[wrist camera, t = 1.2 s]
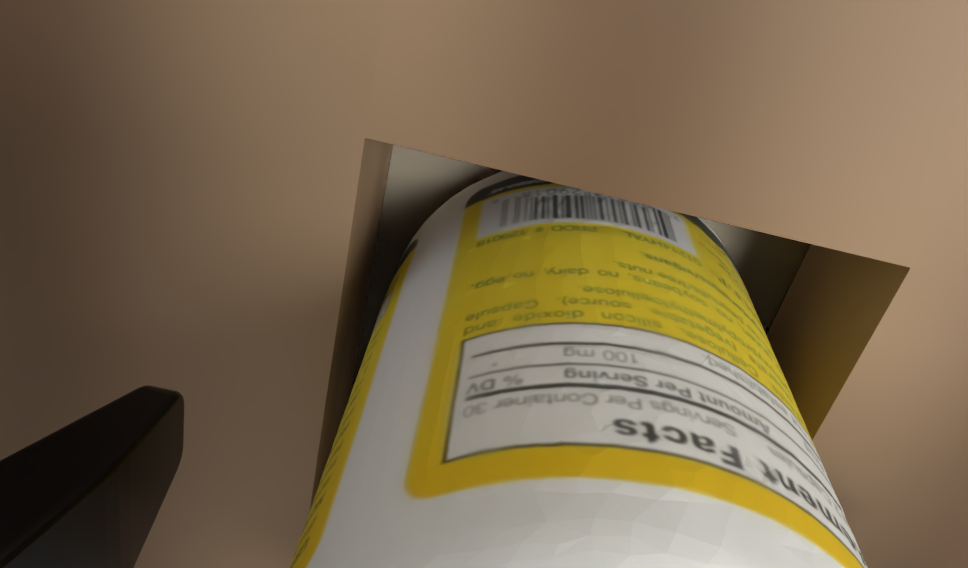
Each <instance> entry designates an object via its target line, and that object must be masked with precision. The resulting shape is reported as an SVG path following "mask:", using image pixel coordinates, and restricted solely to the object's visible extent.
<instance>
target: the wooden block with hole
mask: <svg viewBox="0 0 968 568" xmlns="http://www.w3.org/2000/svg"><path fill="white" fill-rule="evenodd" d="M393 145H397V146H401V147H406V148H410V149H414V150H418V151H422V152H427V153H431V154H435V155H439V156H443V157H448V158H452V159H456V160H460V161H464V162H469V163H473V164H477V165H481V166H485V167H490V168H494V169H498V170H502V171H506V172H511V173H515V174H519V175H523V176H527V177H532V178H536V179H540V180H544V181H548V182H553V183H557V184H561V185H565V186H569V187H574V188H578V189H582V190H586V191H590V192H595V193H599V194H603V195H607V196H611V197H616V198H620V199H624V200H628V201H632V202H637V203H641V204H645V205H649V206H653V207H658V208H662V209H666V210H670V211H674V212H679V213H683V214H687V215H691V216H695V217H700V218H704V219H708V220H712V221H716V222H721V223H725V224H729V225H733V226H737V227H742V228H746V229H750V230H754V231H758V232H763V233H767V234H771V235H775V236H779V237H784V238H788V239H792V240H796V241H800V242H805V243H809V244H811V245H810V247H809V249H808V251H807V253H806V255H805V257H804V259H803V261H802V263H801V265H800V267H799V269H798V271H797V273H796V275H795V277H794V279H793V281H792V284H791V286H790V288H789V290H788V292H787V294H786V296H785V298H784V300H783V302H782V304H781V306H780V308H779V310H778V312H777V314H776V316H775V318H774V320H773V323H772V325H771V327H770V329H769V331H768V333H767V335H766V336H767V338H768V340H769V343H770V345H771V348H772V350H773V352H774V354H775V357H776V359H777V361H778V363H779V366H780V368H781V370H782V372H783V375H784V377H785V379H786V381H787V384H788V386H789V388H790V390H791V393H792V395H793V398H794V400H795V402H796V405H797V407H798V409H799V412H800V414H801V416H802V418H803V420H804V422H805V425H806V428H807V430H808V432H809V434H810V437H811V439H812V441H813V443H814V446H815V448H816V450H817V453H818V455H819V457H820V459H821V462H822V464H823V466H824V468H825V471H826V473H827V476H828V478H829V481H830V483H831V485H832V487H833V490H834V492H835V494H836V496H837V498H838V500H839V502H840V505H841V507H842V509H843V512H844V514H845V517H846V520H847V523H848V525H849V527H850V529H851V531H852V533H853V535H854V537H855V539H856V542H857V544H858V547H859V549H860V551H861V554H862V556H863V559H864V561H865V563H866V565H867V567H868V568H968V0H0V460H2V459H4V458H6V457H8V456H10V455H11V454H13V453H15V452H17V451H19V450H21V449H23V448H25V447H27V446H29V445H31V444H32V443H34V442H36V441H38V440H40V439H42V438H44V437H46V436H48V435H50V434H51V433H53V432H55V431H57V430H59V429H61V428H63V427H65V426H67V425H69V424H70V423H72V422H74V421H76V420H78V419H80V418H82V417H84V416H86V415H88V414H90V413H91V412H93V411H95V410H97V409H99V408H101V407H103V406H105V405H107V404H109V403H110V402H112V401H114V400H116V399H118V398H120V397H122V396H124V395H126V394H128V393H130V392H131V391H133V390H135V389H137V388H139V387H142V386H146V385H151V386H156V387H160V388H165V389H169V390H174V391H177V392H179V393H180V394H181V395H182V396H183V399H184V440H183V453H182V457H181V461H180V464H179V467H178V470H177V472H176V474H175V476H174V479H173V481H172V483H171V485H170V488H169V490H168V492H167V494H166V497H165V499H164V501H163V503H162V505H161V508H160V510H159V512H158V514H157V517H156V519H155V521H154V523H153V526H152V528H151V530H150V532H149V535H148V537H147V539H146V541H145V543H144V546H143V548H142V550H141V552H140V555H139V557H138V559H137V561H136V564H135V566H134V568H290V565H291V562H292V559H293V556H294V554H295V551H296V548H297V545H298V543H299V540H300V537H301V534H302V532H303V529H304V526H305V523H306V521H307V518H308V515H309V512H310V509H311V507H312V504H313V501H314V498H315V495H316V492H317V489H318V487H319V484H320V480H321V477H322V474H323V471H324V469H325V466H326V463H327V460H328V458H329V455H330V452H331V449H332V446H333V443H334V440H335V437H336V435H337V432H338V429H339V425H340V422H341V420H342V417H343V414H344V412H345V409H346V406H347V404H348V401H349V397H350V395H351V391H352V385H353V379H354V373H355V367H356V361H357V355H358V349H359V343H360V337H361V331H362V325H363V319H364V313H365V307H366V301H367V295H368V289H369V283H370V277H371V272H372V266H373V260H374V254H375V248H376V242H377V236H378V230H379V224H380V218H381V212H382V206H383V200H384V194H385V188H386V182H387V176H388V170H389V164H390V158H391V152H392V146H393Z"/></svg>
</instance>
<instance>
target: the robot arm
mask: <svg viewBox="0 0 968 568" xmlns="http://www.w3.org/2000/svg"><path fill="white" fill-rule="evenodd" d="M183 440H184V399H183V396H182V395H181V394H180V393H179V392H177V391H174V390H169V389H165V388H160V387H156V386H151V385H146V386H142V387H139V388H137V389H135V390H133V391H131V392H130V393H128V394H126V395H124V396H122V397H120V398H118V399H116V400H114V401H112V402H110V403H109V404H107V405H105V406H103V407H101V408H99V409H97V410H95V411H93V412H91V413H90V414H88V415H86V416H84V417H82V418H80V419H78V420H76V421H74V422H72V423H70V424H69V425H67V426H65V427H63V428H61V429H59V430H57V431H55V432H53V433H51V434H50V435H48V436H46V437H44V438H42V439H40V440H38V441H36V442H34V443H32V444H31V445H29V446H27V447H25V448H23V449H21V450H19V451H17V452H15V453H13V454H11V455H10V456H8V457H6V458H4V459H2V460H0V568H134V566H135V564H136V561H137V559H138V557H139V555H140V552H141V550H142V548H143V546H144V543H145V541H146V539H147V537H148V535H149V532H150V530H151V528H152V526H153V523H154V521H155V519H156V517H157V514H158V512H159V510H160V508H161V505H162V503H163V501H164V499H165V497H166V494H167V492H168V490H169V488H170V485H171V483H172V481H173V479H174V476H175V474H176V472H177V470H178V467H179V464H180V461H181V457H182V453H183Z"/></svg>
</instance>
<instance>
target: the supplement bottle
mask: <svg viewBox="0 0 968 568" xmlns="http://www.w3.org/2000/svg"><path fill="white" fill-rule="evenodd" d="M290 568H868V567H867V565H866V563H865V561H864V559H863V556H862V554H861V551H860V549H859V547H858V544H857V542H856V539H855V537H854V535H853V533H852V531H851V529H850V527H849V525H848V523H847V520H846V517H845V514H844V512H843V509H842V507H841V505H840V502H839V500H838V498H837V496H836V494H835V492H834V490H833V487H832V485H831V483H830V481H829V478H828V476H827V473H826V471H825V468H824V466H823V464H822V462H821V459H820V457H819V455H818V453H817V450H816V448H815V446H814V443H813V441H812V439H811V437H810V434H809V432H808V430H807V428H806V425H805V422H804V420H803V418H802V416H801V414H800V412H799V409H798V407H797V405H796V402H795V400H794V398H793V395H792V393H791V390H790V388H789V386H788V384H787V381H786V379H785V377H784V375H783V372H782V370H781V368H780V366H779V363H778V361H777V359H776V357H775V354H774V352H773V350H772V348H771V345H770V343H769V340H768V338H767V336H766V333H765V331H764V329H763V326H762V324H761V322H760V320H759V317H758V315H757V313H756V311H755V308H754V306H753V304H752V301H751V299H750V297H749V294H748V292H747V290H746V288H745V286H744V283H743V281H742V279H741V277H740V275H739V272H738V270H737V267H736V265H735V263H734V261H733V260H732V258H731V256H730V255H729V253H728V251H727V250H726V248H725V247H724V245H723V243H722V242H721V240H720V239H719V237H718V236H717V235H716V233H715V232H714V231H713V229H712V228H711V227H710V226H709V225H708V224H707V223H706V222H705V221H704V219H703V218H700V217H695V216H691V215H687V214H683V213H679V212H674V211H670V210H666V209H662V208H658V207H653V206H649V205H645V204H641V203H637V202H632V201H628V200H624V199H620V198H616V197H611V196H607V195H603V194H599V193H595V192H590V191H586V190H582V189H578V188H574V187H569V186H565V185H561V184H557V183H553V182H548V181H544V180H540V179H536V178H532V177H527V176H523V175H519V174H515V173H511V172H506V171H502V172H499V173H496V174H494V175H492V176H490V177H487V178H485V179H483V180H481V181H479V182H477V183H475V184H473V185H471V186H469V187H467V188H465V189H464V190H462V191H461V192H459V193H458V194H456V195H455V196H453V197H452V198H450V199H449V200H448V201H446V202H445V203H444V204H443V205H442V206H441V207H439V208H438V209H437V210H436V211H435V212H434V213H433V214H432V215H431V216H430V217H429V218H428V219H427V220H426V221H425V223H424V224H423V225H422V226H421V228H420V229H419V230H418V231H417V233H416V234H415V235H414V237H413V238H412V240H411V241H410V243H409V244H408V246H407V248H406V250H405V252H404V253H403V255H402V257H401V259H400V261H399V264H398V266H397V268H396V271H395V273H394V275H393V278H392V280H391V283H390V285H389V288H388V290H387V293H386V295H385V298H384V300H383V303H382V306H381V308H380V312H379V315H378V318H377V321H376V324H375V327H374V330H373V333H372V336H371V338H370V341H369V344H368V347H367V350H366V352H365V355H364V358H363V361H362V364H361V367H360V369H359V372H358V375H357V378H356V381H355V384H354V386H353V389H352V392H351V395H350V397H349V401H348V404H347V406H346V409H345V412H344V414H343V417H342V420H341V422H340V425H339V429H338V432H337V435H336V437H335V440H334V443H333V446H332V449H331V452H330V455H329V458H328V460H327V463H326V466H325V469H324V471H323V474H322V477H321V480H320V484H319V487H318V489H317V492H316V495H315V498H314V501H313V504H312V507H311V509H310V512H309V515H308V518H307V521H306V523H305V526H304V529H303V532H302V534H301V537H300V540H299V543H298V545H297V548H296V551H295V554H294V556H293V559H292V562H291V565H290Z"/></svg>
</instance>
